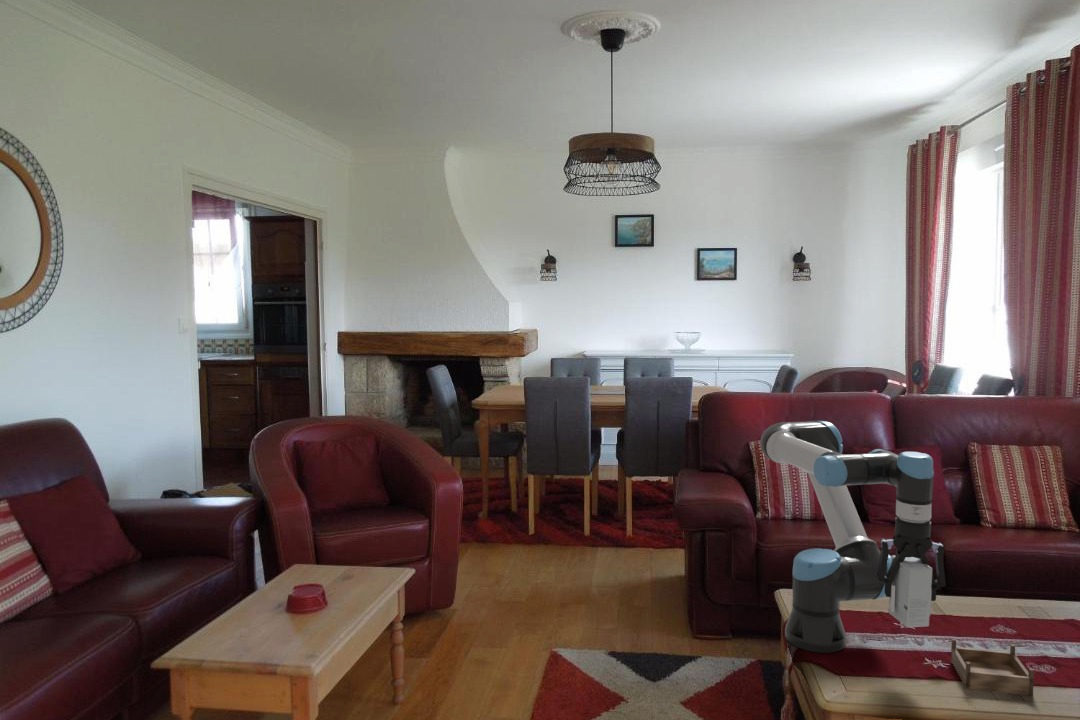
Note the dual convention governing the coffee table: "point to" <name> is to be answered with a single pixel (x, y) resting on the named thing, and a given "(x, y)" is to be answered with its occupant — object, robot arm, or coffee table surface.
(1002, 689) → the box
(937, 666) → the coffee table surface
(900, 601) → the skincare box
